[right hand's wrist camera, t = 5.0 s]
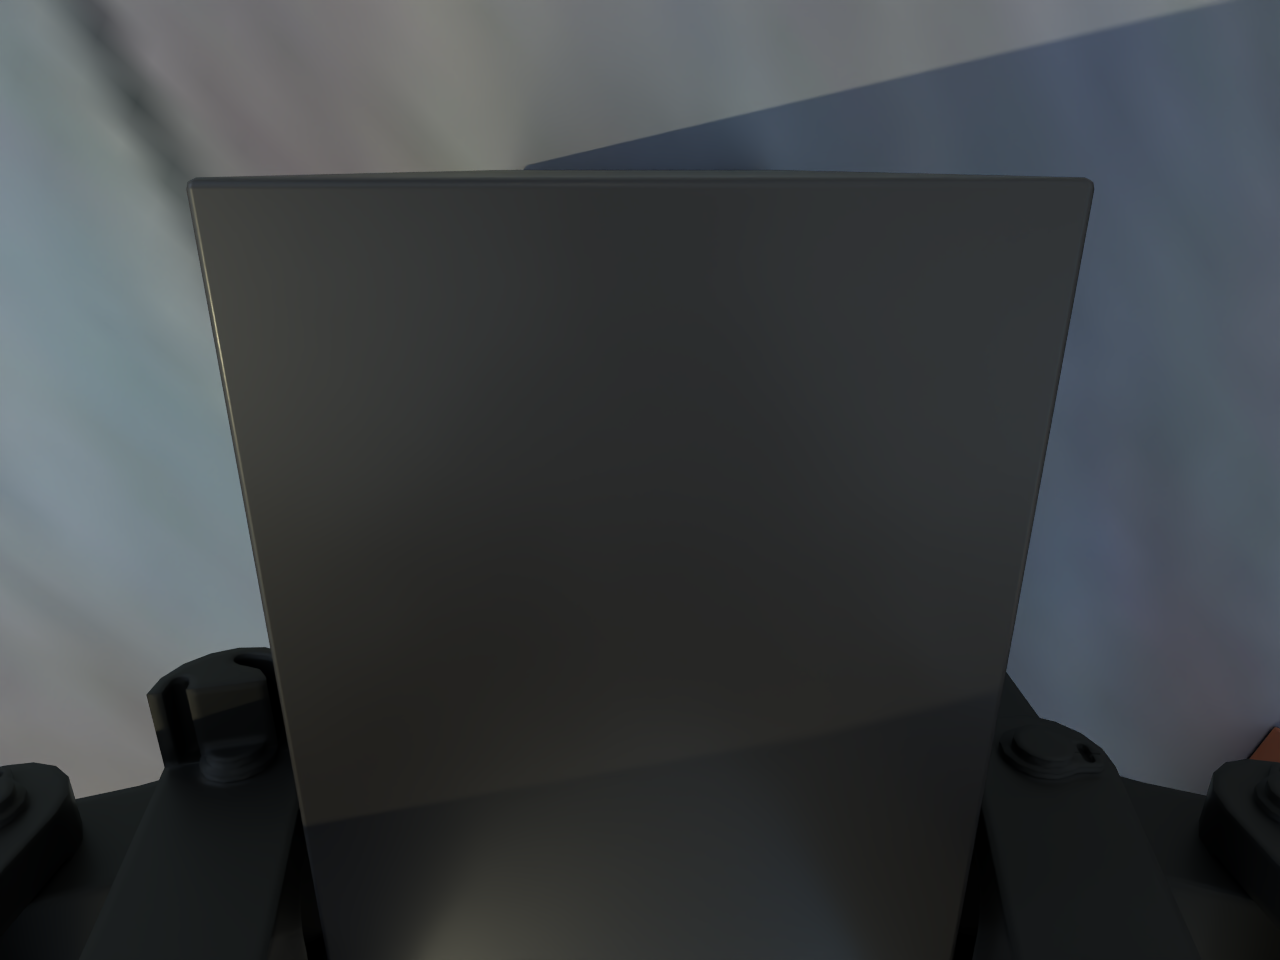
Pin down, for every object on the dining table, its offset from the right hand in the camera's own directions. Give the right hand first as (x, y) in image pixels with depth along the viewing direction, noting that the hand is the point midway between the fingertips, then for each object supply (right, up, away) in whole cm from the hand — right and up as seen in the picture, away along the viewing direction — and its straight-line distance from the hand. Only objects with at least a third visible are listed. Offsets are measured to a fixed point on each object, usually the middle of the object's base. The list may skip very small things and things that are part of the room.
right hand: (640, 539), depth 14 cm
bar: (0, -10, +5) cm, 11 cm away
